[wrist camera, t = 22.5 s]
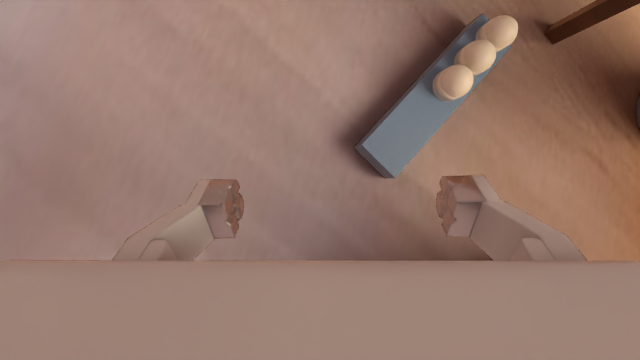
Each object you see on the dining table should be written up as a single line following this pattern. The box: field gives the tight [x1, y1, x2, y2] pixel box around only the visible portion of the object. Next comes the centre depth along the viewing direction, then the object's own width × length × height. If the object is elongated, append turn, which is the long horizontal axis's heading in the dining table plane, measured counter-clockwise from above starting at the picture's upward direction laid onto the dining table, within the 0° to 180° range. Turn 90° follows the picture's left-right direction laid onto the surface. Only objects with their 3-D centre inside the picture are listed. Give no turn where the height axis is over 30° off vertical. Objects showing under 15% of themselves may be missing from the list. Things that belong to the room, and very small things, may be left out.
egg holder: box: [354, 13, 518, 178], centre depth 29 cm, size 18×4×5 cm, turn 136°
